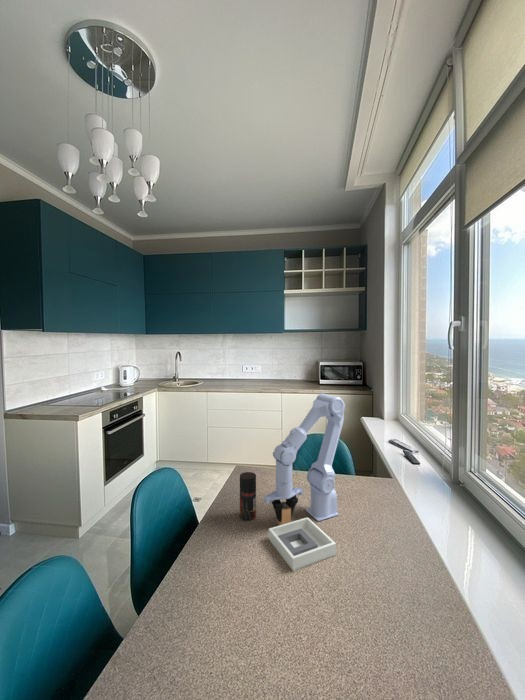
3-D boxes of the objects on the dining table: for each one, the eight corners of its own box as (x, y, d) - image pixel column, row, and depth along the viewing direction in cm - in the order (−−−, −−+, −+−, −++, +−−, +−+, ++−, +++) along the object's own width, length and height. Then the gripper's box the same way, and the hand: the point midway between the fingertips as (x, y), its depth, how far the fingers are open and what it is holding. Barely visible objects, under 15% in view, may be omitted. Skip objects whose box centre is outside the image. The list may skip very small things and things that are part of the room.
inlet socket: (301, 534, 99) (301, 528, 98) (317, 551, 90) (317, 544, 90) (277, 542, 95) (277, 535, 95) (292, 560, 87) (292, 553, 86)
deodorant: (253, 521, 106) (253, 479, 106) (237, 519, 108) (237, 478, 107) (257, 512, 112) (257, 472, 112) (242, 510, 113) (242, 471, 113)
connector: (285, 520, 107) (285, 499, 107) (290, 525, 104) (291, 504, 104) (277, 522, 106) (277, 501, 106) (282, 528, 103) (282, 506, 102)
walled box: (307, 527, 103) (307, 517, 103) (336, 554, 90) (336, 543, 90) (268, 539, 97) (268, 528, 97) (292, 571, 83) (293, 558, 83)
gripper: (295, 471, 111) (295, 508, 112) (260, 479, 105) (260, 517, 105) (306, 479, 105) (306, 517, 105) (269, 488, 99) (269, 528, 99)
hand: (284, 518), depth 105 cm, fingers closed on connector, 3 cm apart
